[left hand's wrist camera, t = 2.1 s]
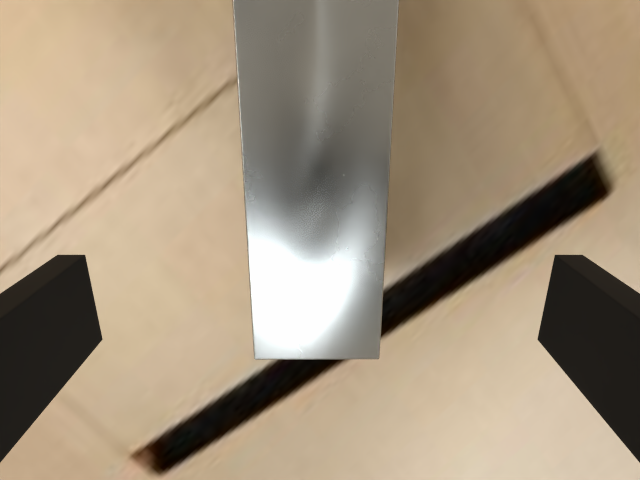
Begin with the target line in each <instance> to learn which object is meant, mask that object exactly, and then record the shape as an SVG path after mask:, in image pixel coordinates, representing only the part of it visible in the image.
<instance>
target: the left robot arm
mask: <svg viewBox="0 0 640 480" xmlns="http://www.w3.org/2000/svg"><path fill="white" fill-rule="evenodd" d="M101 341H102V335H101V330H100V325H99V321H98V316H97V311H96V306H95V301H94V296H93V291H92V287H91V282H90V277H89V272H88V267H87V262H86V257H85V255H57V256H55V257H54V258H52V259H51V260H49V261H48V262H46V263H45V264H43V265H42V266H41V267H39V268H38V269H36V270H35V271H33V272H32V273H30V274H29V275H27V276H26V277H24V278H23V279H21V280H20V281H18V282H17V283H15V284H14V285H12V286H11V287H10V288H8V289H7V290H5V291H4V292H2V293H1V294H0V462H1V461H2V460H3V459H4V457H5V456H6V455H7V454H8V453H9V451H10V450H11V449H12V448H13V447H14V445H15V444H16V443H17V442H18V441H19V439H20V438H21V437H22V436H23V434H24V433H25V432H26V431H27V430H28V428H29V427H30V426H31V425H32V424H33V422H34V421H35V420H36V419H37V418H38V416H39V415H40V414H41V413H42V412H43V410H44V409H45V408H46V407H47V406H48V404H49V403H50V402H51V401H52V400H53V398H54V397H55V396H56V395H57V394H58V392H59V391H60V390H61V389H62V388H63V386H64V385H65V384H66V383H67V381H68V380H69V379H70V378H71V377H72V375H73V374H74V373H75V372H76V371H77V369H78V368H79V367H80V366H81V365H82V363H83V362H84V361H85V360H86V359H87V357H88V356H89V355H90V354H91V353H92V351H93V350H94V349H95V348H96V347H97V345H98V344H99V343H100V342H101ZM538 341H539V342H540V343H541V344H542V345H543V347H544V348H545V349H546V350H547V351H548V353H549V354H550V355H551V356H552V357H553V359H554V360H555V361H556V362H557V363H558V365H559V366H560V367H561V368H562V369H563V371H564V372H565V373H566V374H567V375H568V377H569V378H570V379H571V380H572V381H573V383H574V384H575V385H576V386H577V388H578V389H579V390H580V391H581V392H582V394H583V395H584V396H585V397H586V398H587V400H588V401H589V402H590V403H591V404H592V406H593V407H594V408H595V409H596V410H597V412H598V413H599V414H600V415H601V416H602V418H603V419H604V420H605V421H606V422H607V424H608V425H609V426H610V427H611V428H612V430H613V431H614V432H615V433H616V434H617V436H618V437H619V438H620V439H621V441H622V442H623V443H624V444H625V445H626V447H627V448H628V449H629V450H630V451H631V453H632V454H633V455H634V456H635V457H636V459H637V460H638V461H639V462H640V294H639V293H638V292H636V291H635V290H633V289H632V288H630V287H629V286H628V285H626V284H625V283H623V282H622V281H620V280H619V279H617V278H616V277H614V276H613V275H611V274H610V273H608V272H607V271H605V270H604V269H602V268H601V267H599V266H598V265H597V264H595V263H594V262H592V261H591V260H589V259H588V258H586V257H585V256H583V255H555V257H554V262H553V267H552V272H551V277H550V282H549V287H548V291H547V296H546V301H545V306H544V311H543V316H542V321H541V325H540V330H539V335H538Z"/></svg>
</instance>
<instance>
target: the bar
mask: <svg viewBox="0 0 640 480" xmlns="http://www.w3.org/2000/svg"><path fill="white" fill-rule="evenodd" d="M232 2H233V19H234V35H235V51H236V68H237V84H238V101H239V117H240V133H241V150H242V166H243V182H244V199H245V215H246V232H247V248H248V264H249V281H250V297H251V314H252V330H253V346H254V359H379V354H380V336H381V318H382V300H383V281H384V263H385V245H386V227H387V209H388V191H389V172H390V154H391V136H392V118H393V100H394V82H395V63H396V45H397V27H398V9H399V0H232Z"/></svg>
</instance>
